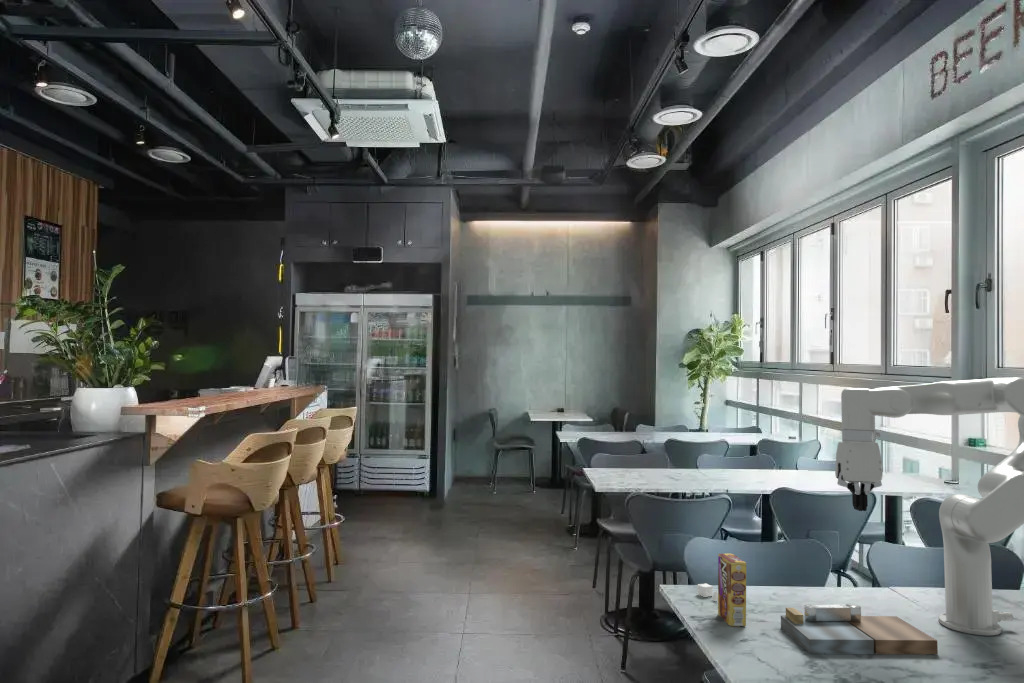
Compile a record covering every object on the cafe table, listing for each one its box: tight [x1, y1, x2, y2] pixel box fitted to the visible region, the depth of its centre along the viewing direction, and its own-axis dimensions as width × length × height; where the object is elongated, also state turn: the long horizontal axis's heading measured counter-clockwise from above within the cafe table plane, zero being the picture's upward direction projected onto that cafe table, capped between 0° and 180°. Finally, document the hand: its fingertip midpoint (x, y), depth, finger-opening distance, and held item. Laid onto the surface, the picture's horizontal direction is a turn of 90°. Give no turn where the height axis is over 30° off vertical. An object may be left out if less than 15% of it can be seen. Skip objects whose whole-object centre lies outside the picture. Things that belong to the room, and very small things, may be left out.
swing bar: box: [803, 603, 862, 622], centre depth 155 cm, size 13×3×3 cm, turn 94°
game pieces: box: [696, 582, 718, 601], centre depth 178 cm, size 12×3×3 cm, turn 24°
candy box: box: [717, 553, 747, 627], centre depth 164 cm, size 9×4×15 cm, turn 2°
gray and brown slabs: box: [780, 607, 939, 655], centre depth 151 cm, size 28×15×5 cm, turn 91°
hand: (860, 509), depth 166 cm, fingers closed
